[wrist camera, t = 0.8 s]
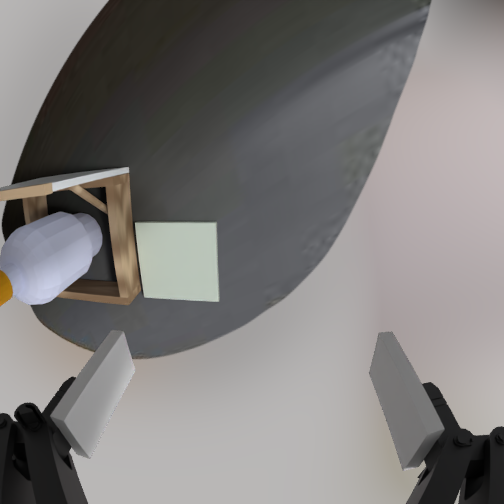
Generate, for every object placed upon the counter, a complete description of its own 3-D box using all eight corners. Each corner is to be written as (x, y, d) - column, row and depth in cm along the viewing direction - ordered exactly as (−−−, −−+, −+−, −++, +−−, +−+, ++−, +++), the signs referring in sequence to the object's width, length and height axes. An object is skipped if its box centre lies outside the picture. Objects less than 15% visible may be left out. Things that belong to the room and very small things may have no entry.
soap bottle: (78, 271, 45) (-15, 348, 22) (54, 217, 42) (-54, 270, 19) (121, 253, 43) (22, 339, 21) (95, 192, 40) (-26, 240, 18)
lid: (39, 177, 40) (-45, 200, 22) (129, 166, 39) (44, 184, 21) (39, 183, 40) (-44, 208, 22) (130, 173, 39) (45, 195, 21)
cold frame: (40, 180, 40) (-9, 193, 29) (128, 169, 39) (83, 179, 28) (56, 282, 46) (17, 313, 35) (141, 290, 45) (108, 330, 34)
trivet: (137, 221, 42) (135, 222, 41) (216, 221, 41) (215, 222, 40) (146, 294, 46) (144, 297, 45) (219, 299, 45) (218, 301, 44)
